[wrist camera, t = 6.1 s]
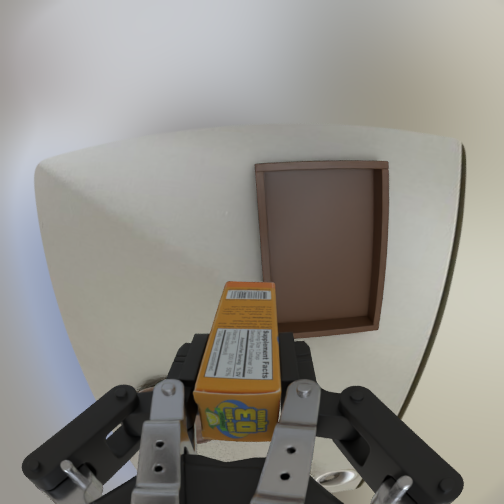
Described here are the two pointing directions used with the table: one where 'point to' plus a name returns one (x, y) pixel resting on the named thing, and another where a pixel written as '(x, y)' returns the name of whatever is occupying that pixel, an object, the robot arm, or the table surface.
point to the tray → (324, 243)
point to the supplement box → (241, 366)
